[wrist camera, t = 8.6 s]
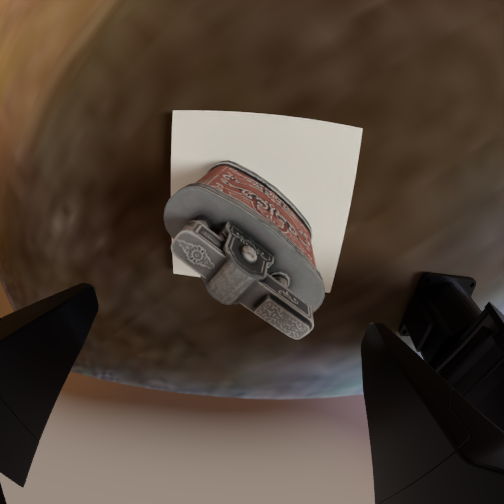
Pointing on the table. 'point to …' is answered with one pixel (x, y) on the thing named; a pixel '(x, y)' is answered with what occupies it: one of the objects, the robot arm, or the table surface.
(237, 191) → the lighter
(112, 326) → the table surface
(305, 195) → the coaster
